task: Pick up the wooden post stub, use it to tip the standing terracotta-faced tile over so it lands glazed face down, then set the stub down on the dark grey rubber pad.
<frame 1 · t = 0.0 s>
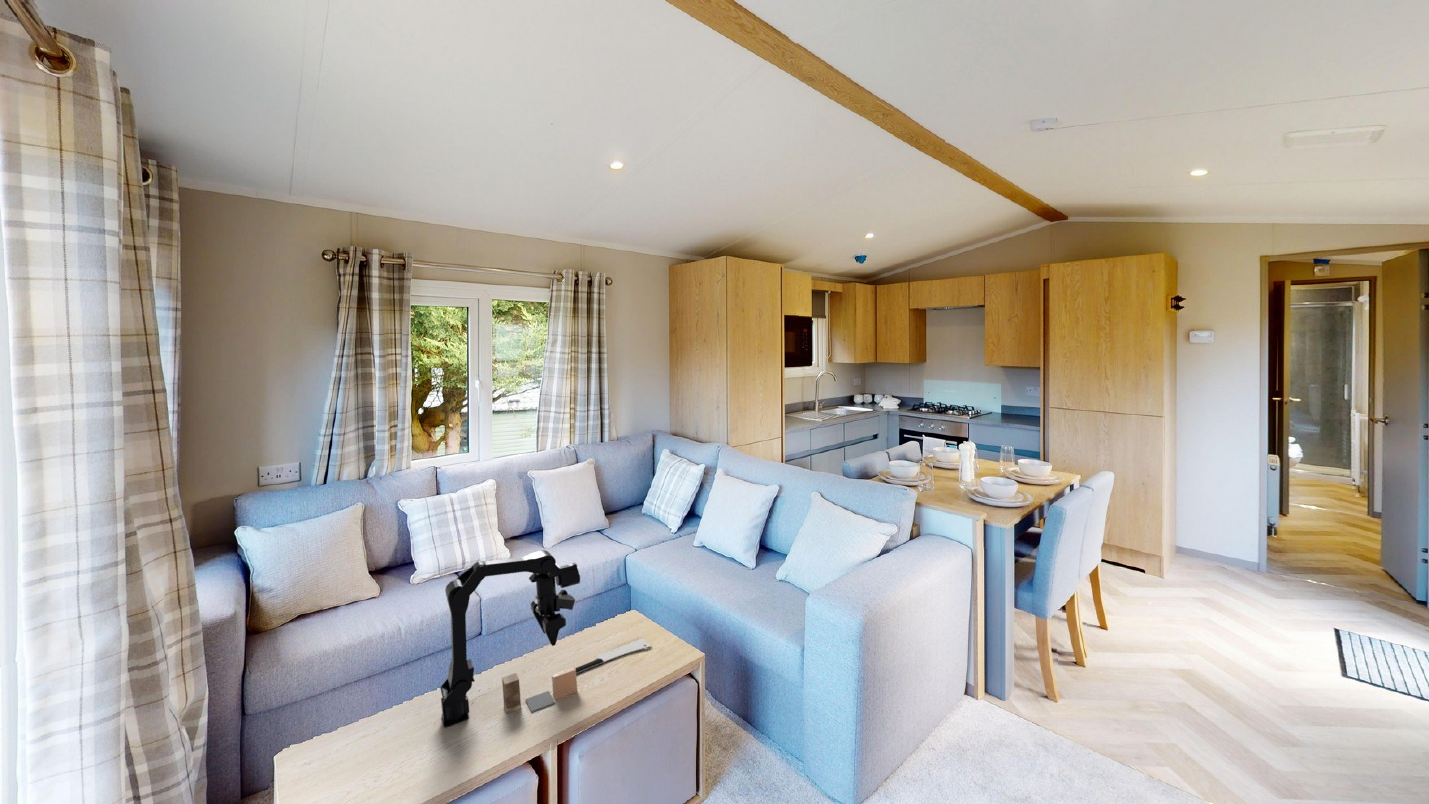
hand: (549, 639, 171), 15 cm above the table, fingers open, 9 cm apart
pad: (540, 702, 163), on the table
tile: (565, 693, 167), on the table
kitchen cleaver: (606, 659, 187), on the table
wooden post stub: (512, 707, 161), on the table
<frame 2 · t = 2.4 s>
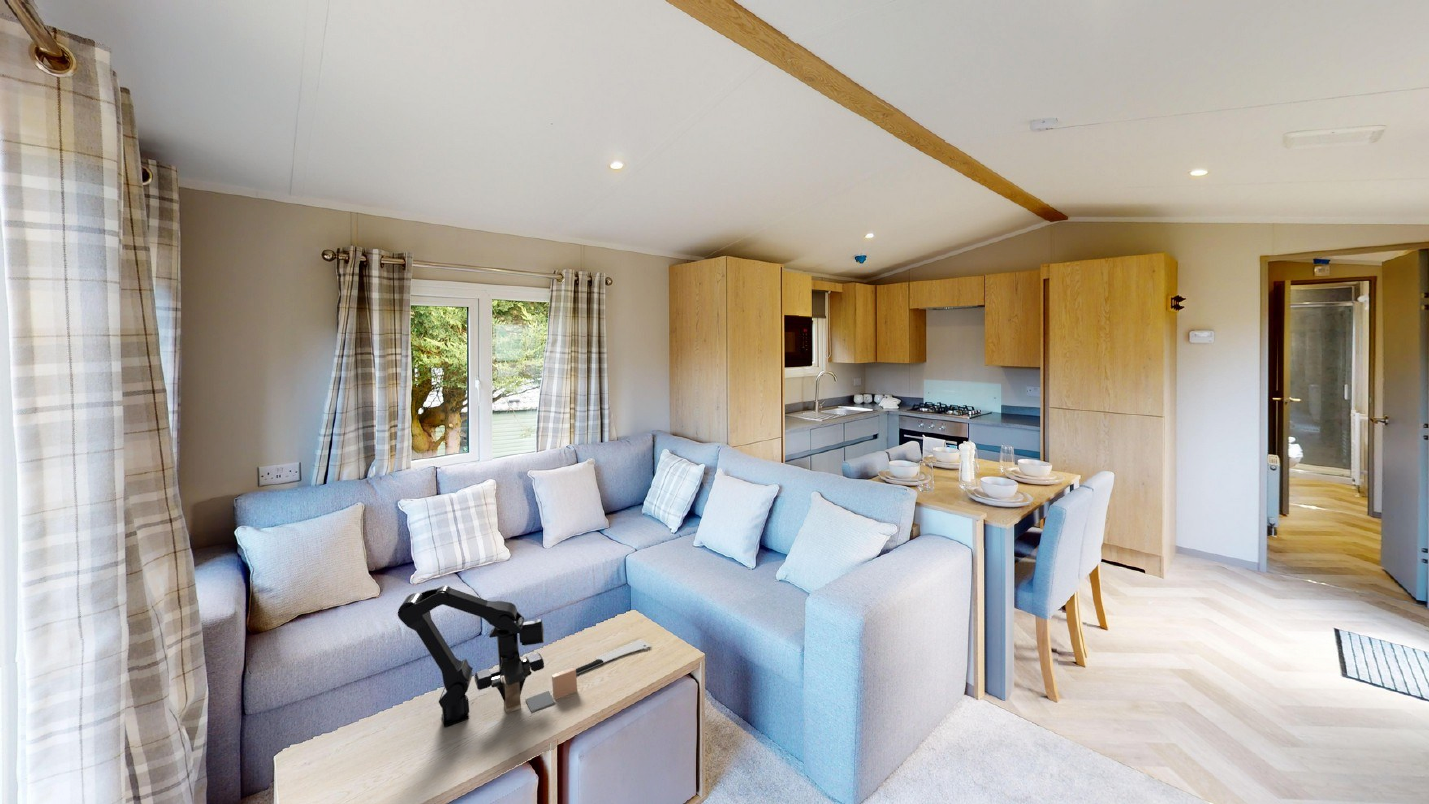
hand: (511, 697, 161), 3 cm above the table, fingers closed on wooden post stub, 4 cm apart
wooden post stub: (512, 707, 161), on the table, touching gripper
everything else where it was.
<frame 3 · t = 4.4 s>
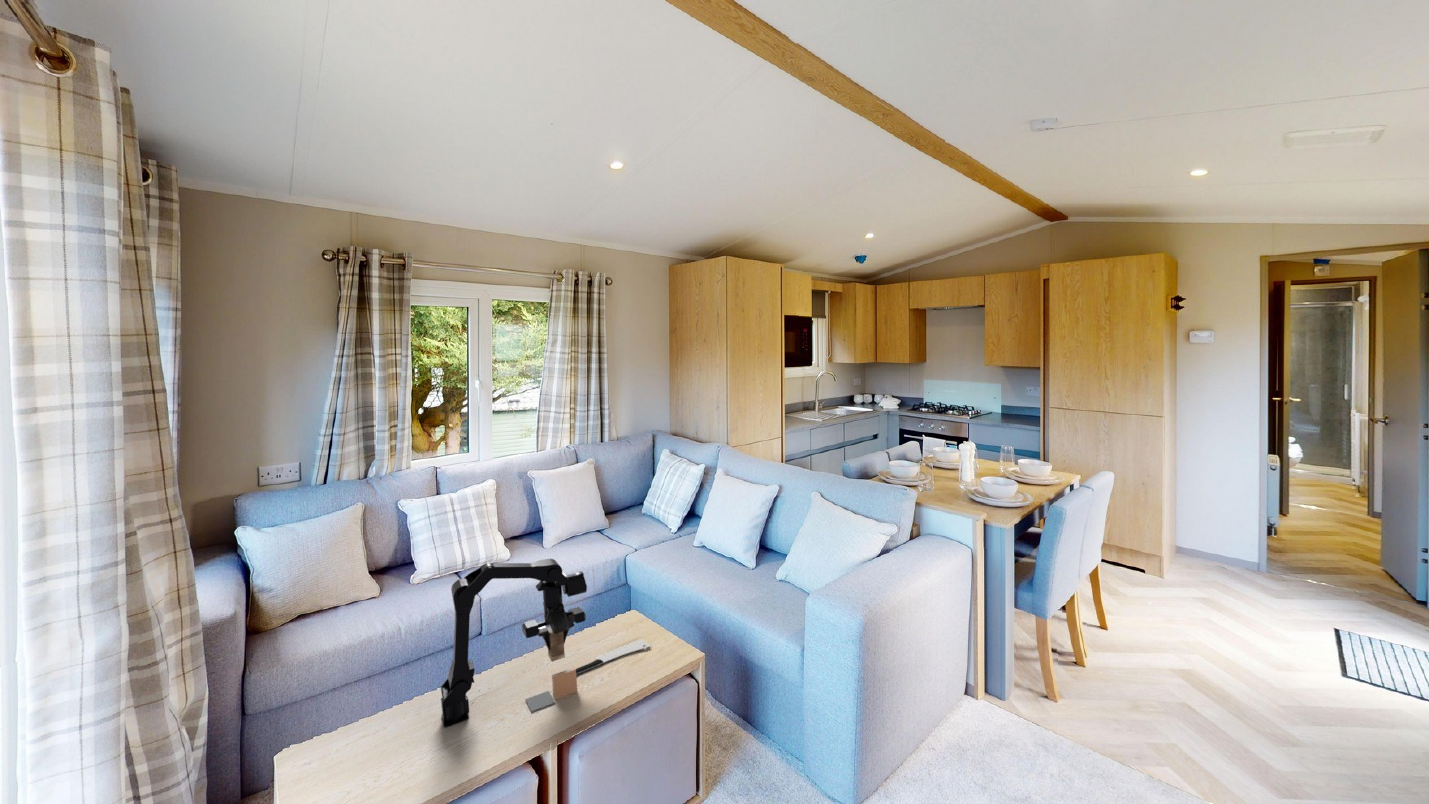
hand: (555, 647, 172), 12 cm above the table, fingers closed on wooden post stub, 4 cm apart
wooden post stub: (556, 656, 172), point 9 cm above the table, touching gripper
everything else where it was.
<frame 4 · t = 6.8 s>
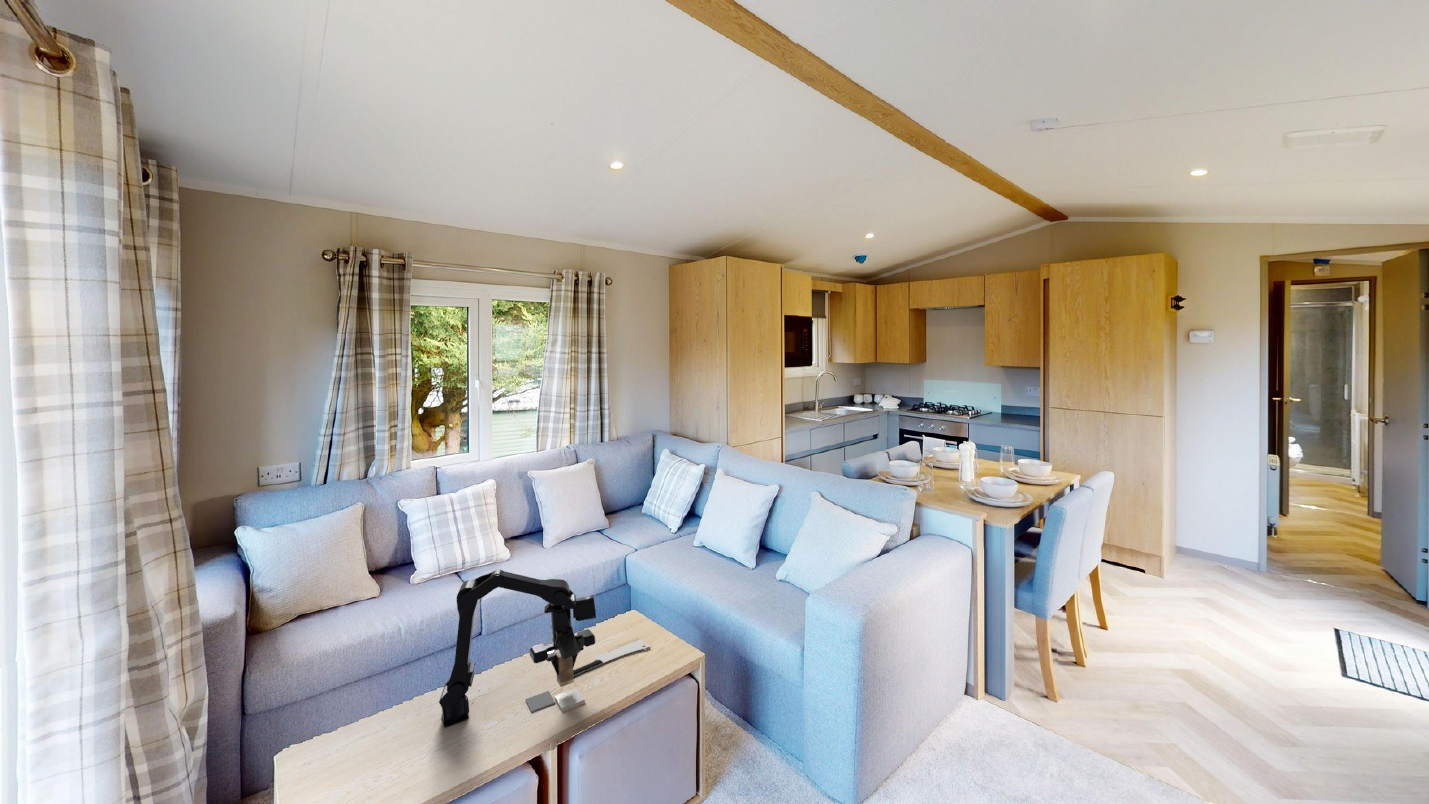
hand: (564, 672, 165), 7 cm above the table, fingers closed on wooden post stub, 4 cm apart
tile: (566, 694, 166), on the table, tilted 90°
wooden post stub: (565, 681, 166), point 4 cm above the table, touching gripper
everything else where it was.
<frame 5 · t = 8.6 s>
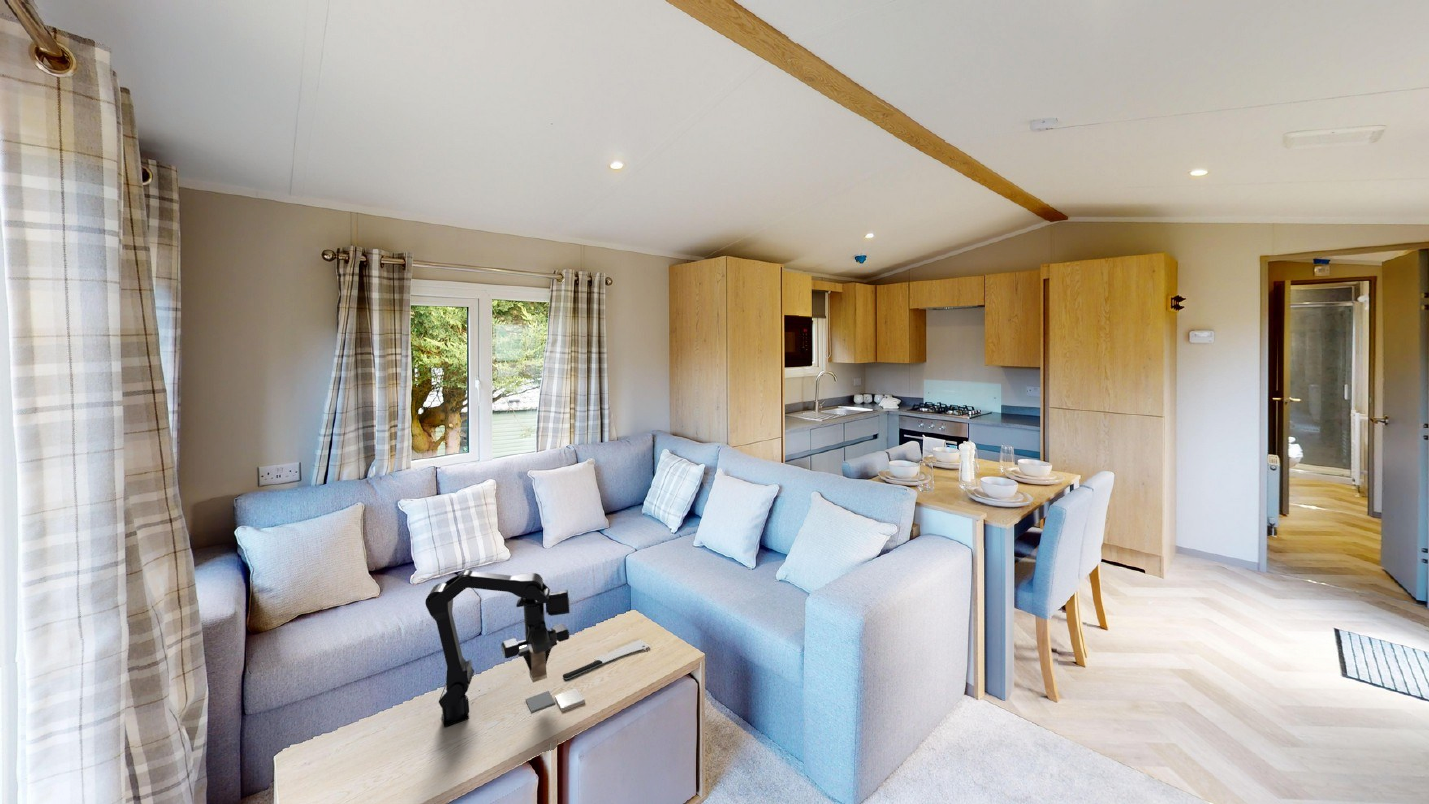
hand: (537, 667, 162), 11 cm above the table, fingers closed on wooden post stub, 4 cm apart
wooden post stub: (538, 676, 162), point 8 cm above the table, touching gripper
everything else where it was.
when the fingers open (4 cm above the table, at t = 10.0 s): wooden post stub stays where it is, resting on pad.
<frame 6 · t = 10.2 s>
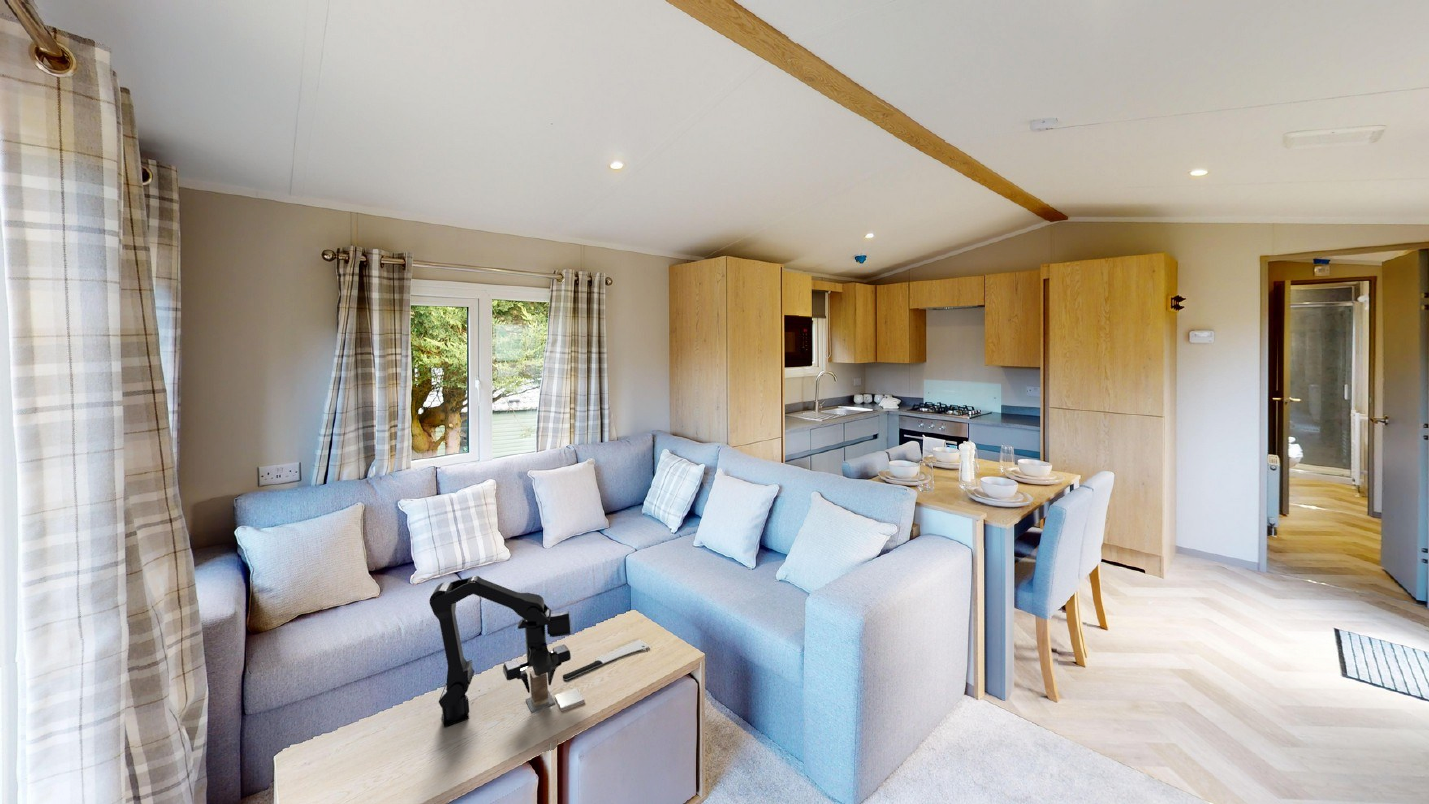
hand: (539, 688, 163), 4 cm above the table, fingers open, 6 cm apart
wooden post stub: (540, 700, 163), resting on pad
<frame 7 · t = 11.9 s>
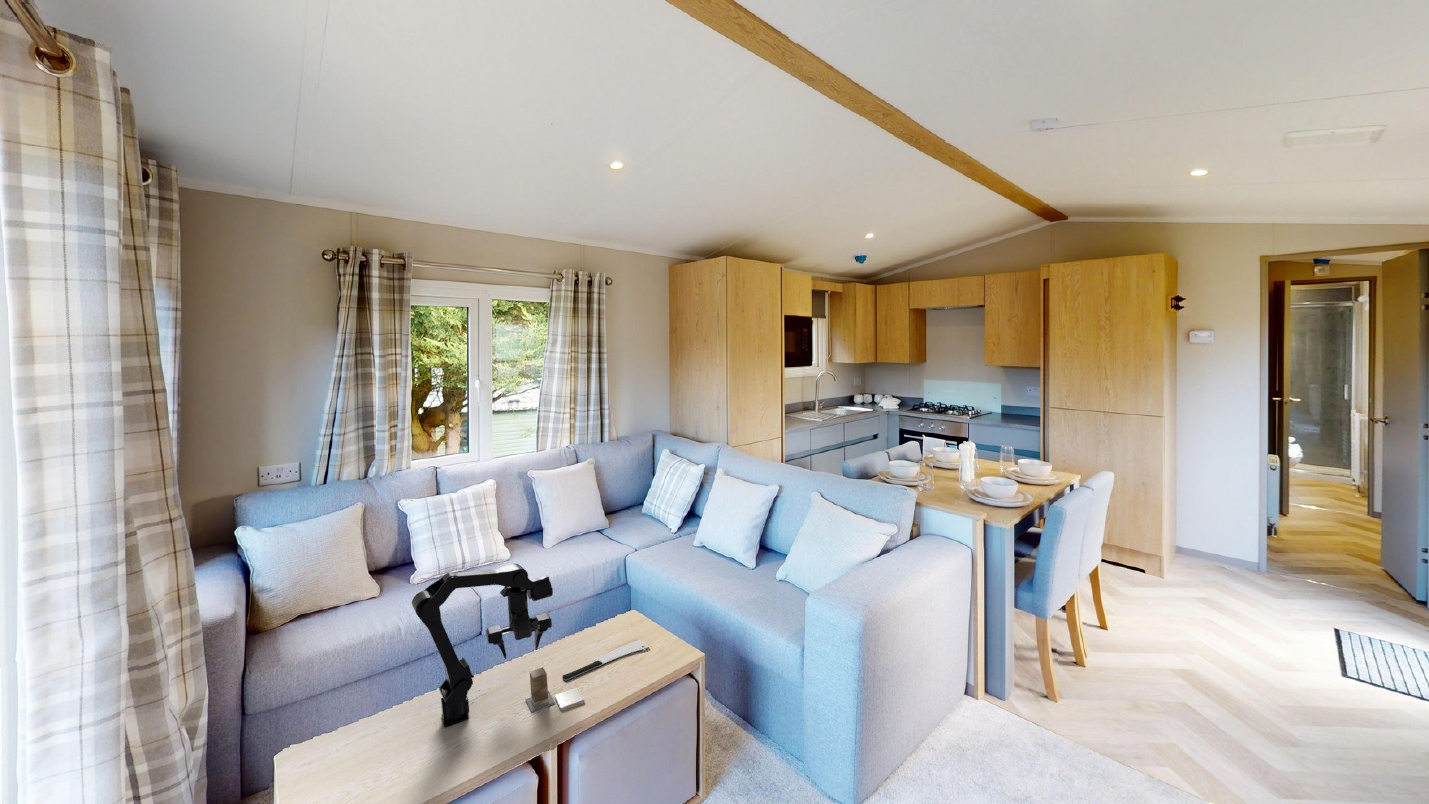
hand: (520, 653, 169), 12 cm above the table, fingers open, 9 cm apart
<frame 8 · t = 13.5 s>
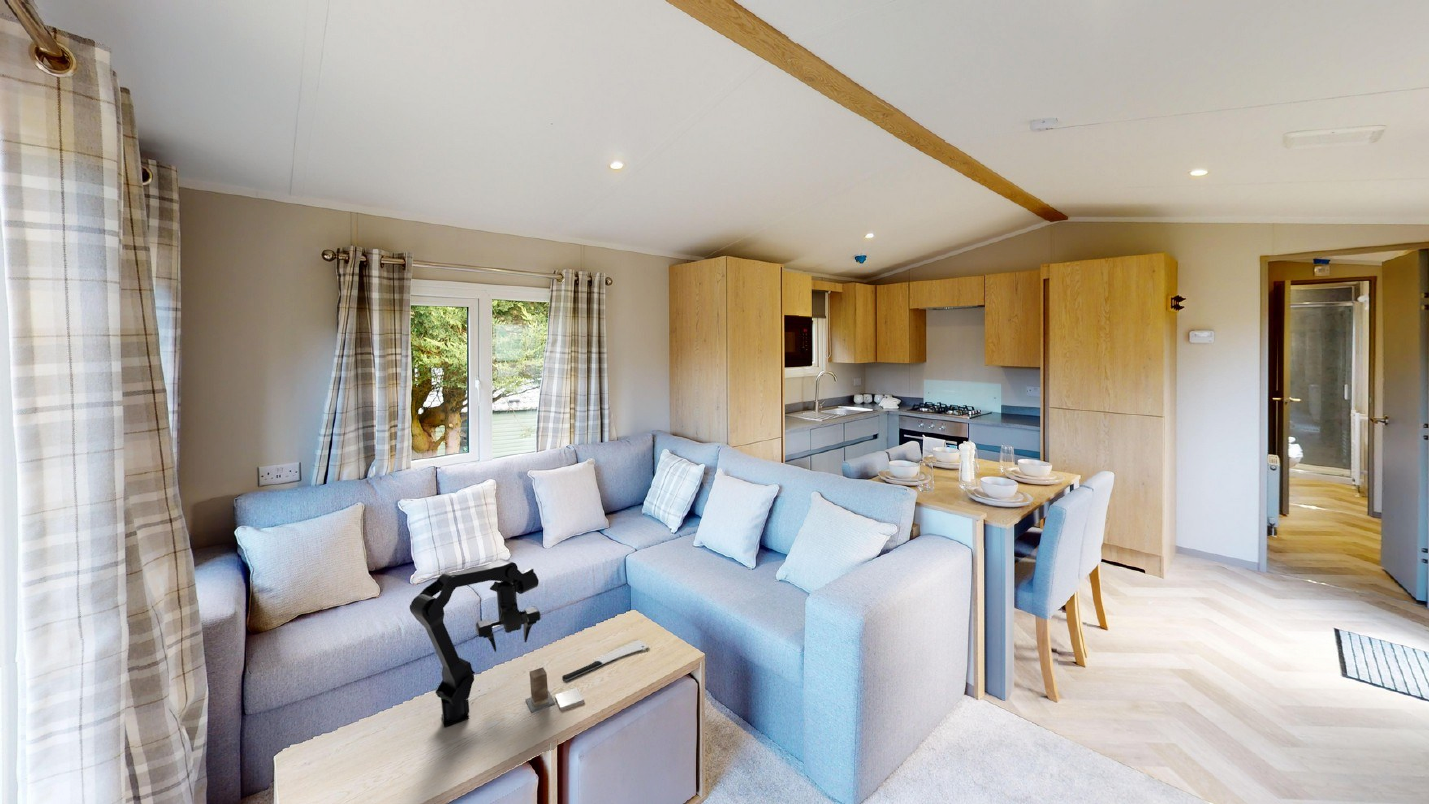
hand: (510, 646, 173), 12 cm above the table, fingers open, 9 cm apart
at the end: tile tilted 90°; wooden post stub inside the target area on the pad (0.0 cm from its centre), point 0.4 cm above the pad's base; the gripper is holding nothing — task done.
